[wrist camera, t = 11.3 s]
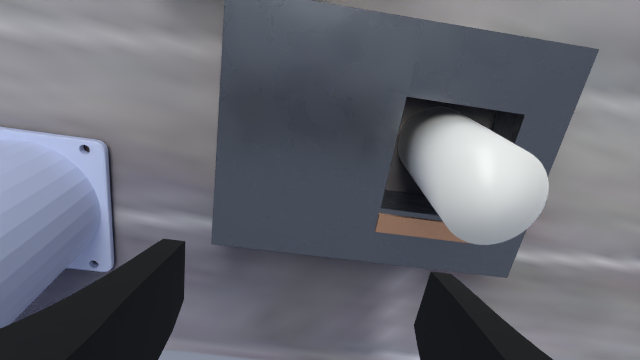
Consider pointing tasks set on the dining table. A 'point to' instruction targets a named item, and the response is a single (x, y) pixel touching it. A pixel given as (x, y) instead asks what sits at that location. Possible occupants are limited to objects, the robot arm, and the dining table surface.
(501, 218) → the barrel peg
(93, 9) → the dining table surface
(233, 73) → the hole plate
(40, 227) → the robot arm
